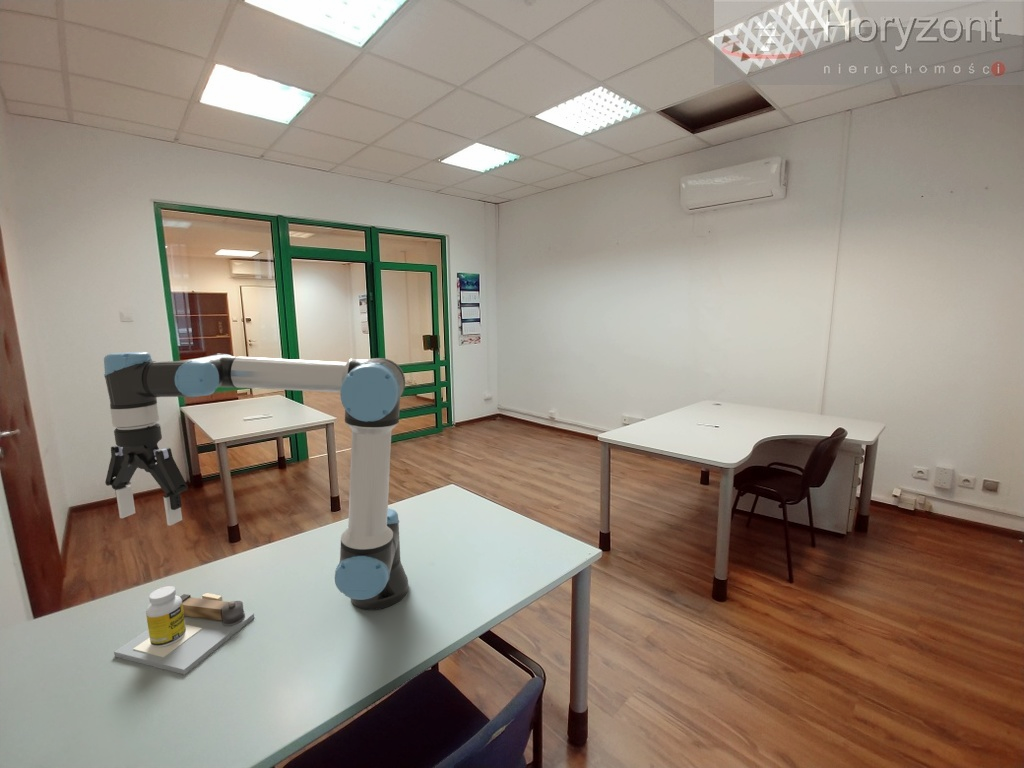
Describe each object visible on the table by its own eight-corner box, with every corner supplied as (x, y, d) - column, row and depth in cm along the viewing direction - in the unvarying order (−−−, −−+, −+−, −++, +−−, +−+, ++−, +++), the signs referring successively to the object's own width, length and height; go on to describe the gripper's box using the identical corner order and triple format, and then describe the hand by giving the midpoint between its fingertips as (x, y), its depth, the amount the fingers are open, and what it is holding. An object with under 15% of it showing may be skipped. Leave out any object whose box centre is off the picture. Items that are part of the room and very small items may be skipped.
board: (254, 617, 110) (252, 601, 109) (184, 674, 92) (182, 656, 92) (191, 604, 115) (189, 589, 114) (114, 656, 97) (111, 638, 97)
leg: (248, 612, 109) (246, 598, 108) (234, 624, 105) (232, 609, 104) (186, 605, 112) (185, 590, 111) (171, 616, 108) (168, 601, 107)
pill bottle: (166, 650, 97) (159, 603, 95) (143, 646, 98) (135, 599, 97) (193, 630, 103) (187, 585, 102) (171, 626, 105) (164, 582, 103)
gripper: (200, 424, 93) (211, 517, 97) (113, 417, 99) (127, 505, 103) (164, 433, 86) (178, 534, 89) (73, 426, 92) (89, 520, 96)
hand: (151, 519), depth 96 cm, fingers open, 13 cm apart
